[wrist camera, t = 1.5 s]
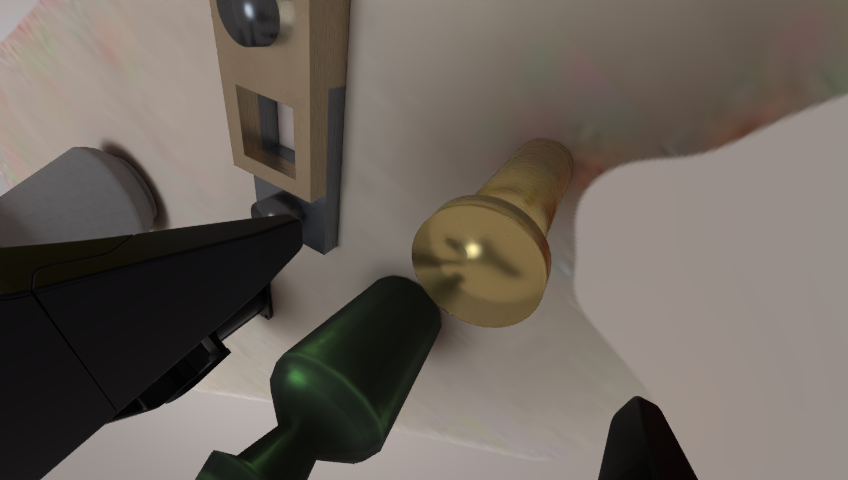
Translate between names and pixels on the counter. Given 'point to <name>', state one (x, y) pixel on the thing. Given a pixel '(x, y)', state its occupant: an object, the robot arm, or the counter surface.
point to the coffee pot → (77, 201)
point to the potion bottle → (340, 386)
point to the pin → (495, 240)
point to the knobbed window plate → (293, 86)
